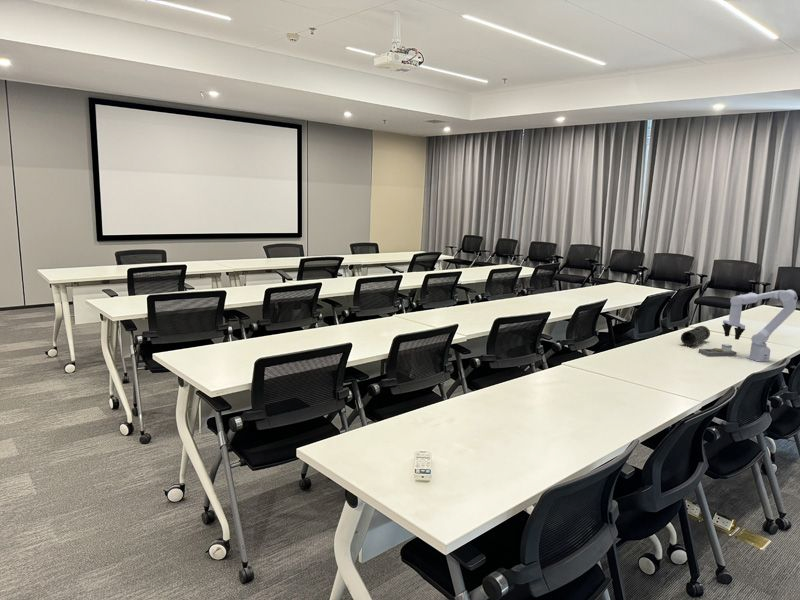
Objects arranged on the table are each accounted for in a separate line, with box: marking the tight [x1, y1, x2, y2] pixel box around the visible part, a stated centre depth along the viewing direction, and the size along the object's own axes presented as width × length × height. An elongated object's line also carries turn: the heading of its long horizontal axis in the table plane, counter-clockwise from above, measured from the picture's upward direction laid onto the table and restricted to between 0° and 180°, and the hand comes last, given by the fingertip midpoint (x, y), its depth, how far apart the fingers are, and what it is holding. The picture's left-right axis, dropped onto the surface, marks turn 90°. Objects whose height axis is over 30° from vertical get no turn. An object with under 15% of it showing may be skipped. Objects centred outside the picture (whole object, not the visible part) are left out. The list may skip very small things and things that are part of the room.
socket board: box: [697, 348, 738, 357], centre depth 321 cm, size 8×19×3 cm, turn 100°
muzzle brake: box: [680, 325, 711, 348], centre depth 346 cm, size 10×28×10 cm, turn 134°
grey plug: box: [720, 343, 733, 352], centre depth 322 cm, size 4×4×6 cm
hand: (731, 337), depth 323 cm, fingers open, 7 cm apart
